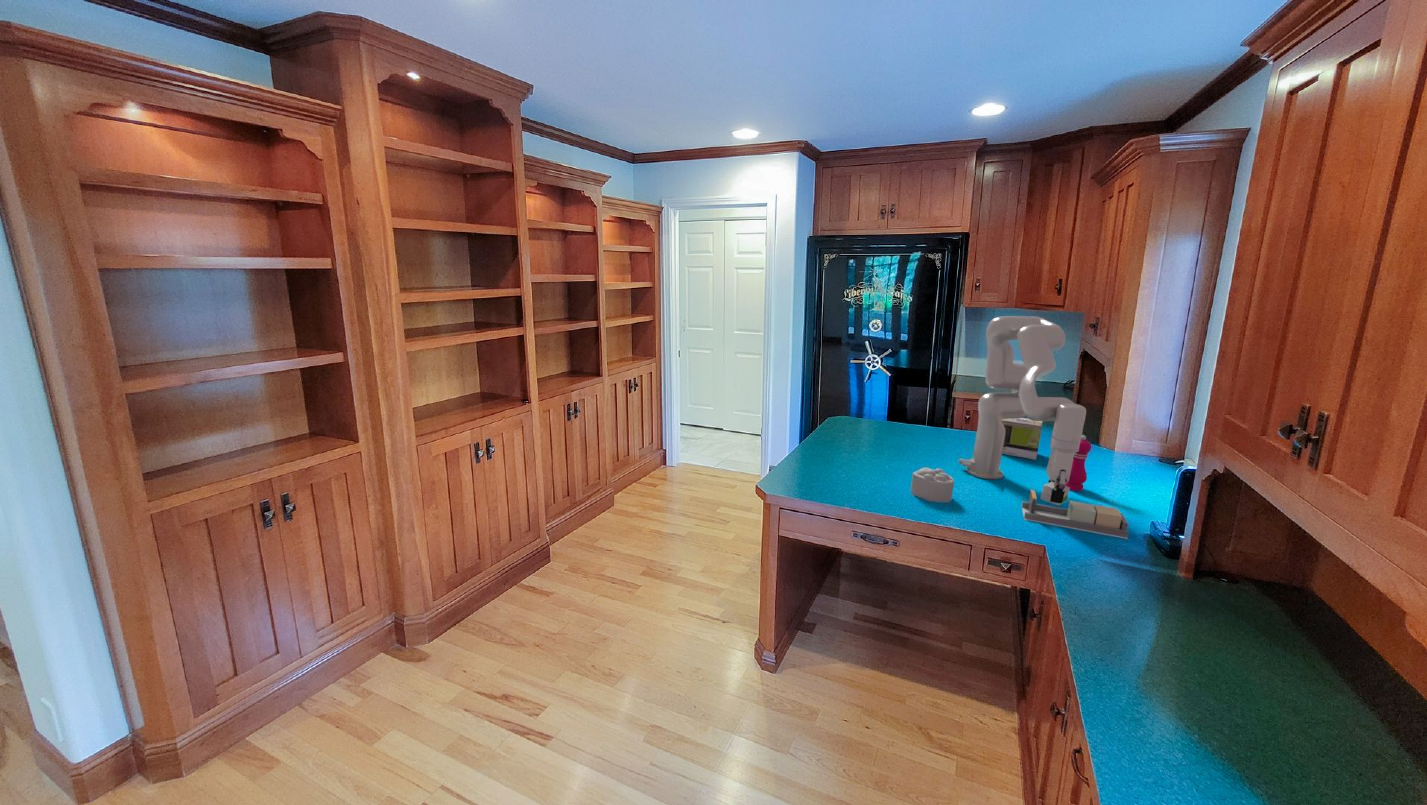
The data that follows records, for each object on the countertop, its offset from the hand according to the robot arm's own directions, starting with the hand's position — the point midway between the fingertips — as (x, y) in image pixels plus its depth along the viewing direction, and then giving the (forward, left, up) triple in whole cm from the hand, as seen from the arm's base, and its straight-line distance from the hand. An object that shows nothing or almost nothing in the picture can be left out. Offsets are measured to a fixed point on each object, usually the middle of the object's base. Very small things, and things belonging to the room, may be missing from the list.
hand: (1054, 496), depth 174 cm
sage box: (+8, 0, -7) cm, 11 cm away
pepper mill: (+11, +33, -8) cm, 36 cm away
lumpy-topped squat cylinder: (-35, +3, -8) cm, 36 cm away
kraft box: (+14, 0, -7) cm, 16 cm away
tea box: (-5, +64, -8) cm, 65 cm away
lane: (+6, 0, -8) cm, 10 cm away
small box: (0, 0, -1) cm, 1 cm away
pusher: (-6, 0, -7) cm, 9 cm away
